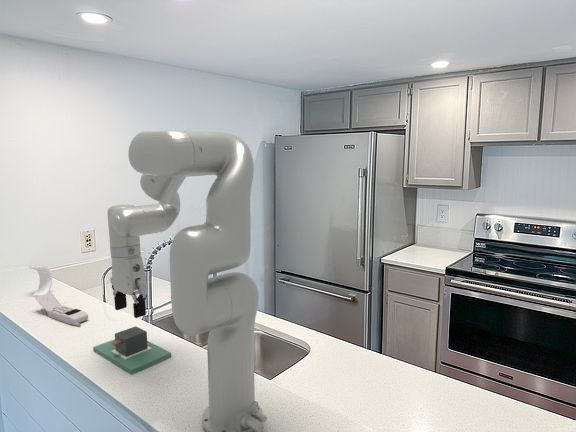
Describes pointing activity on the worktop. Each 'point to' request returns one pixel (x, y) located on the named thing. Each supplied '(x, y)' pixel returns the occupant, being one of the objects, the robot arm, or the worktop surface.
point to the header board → (133, 356)
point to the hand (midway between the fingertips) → (130, 312)
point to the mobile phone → (61, 310)
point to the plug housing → (130, 341)
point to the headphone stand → (43, 281)
